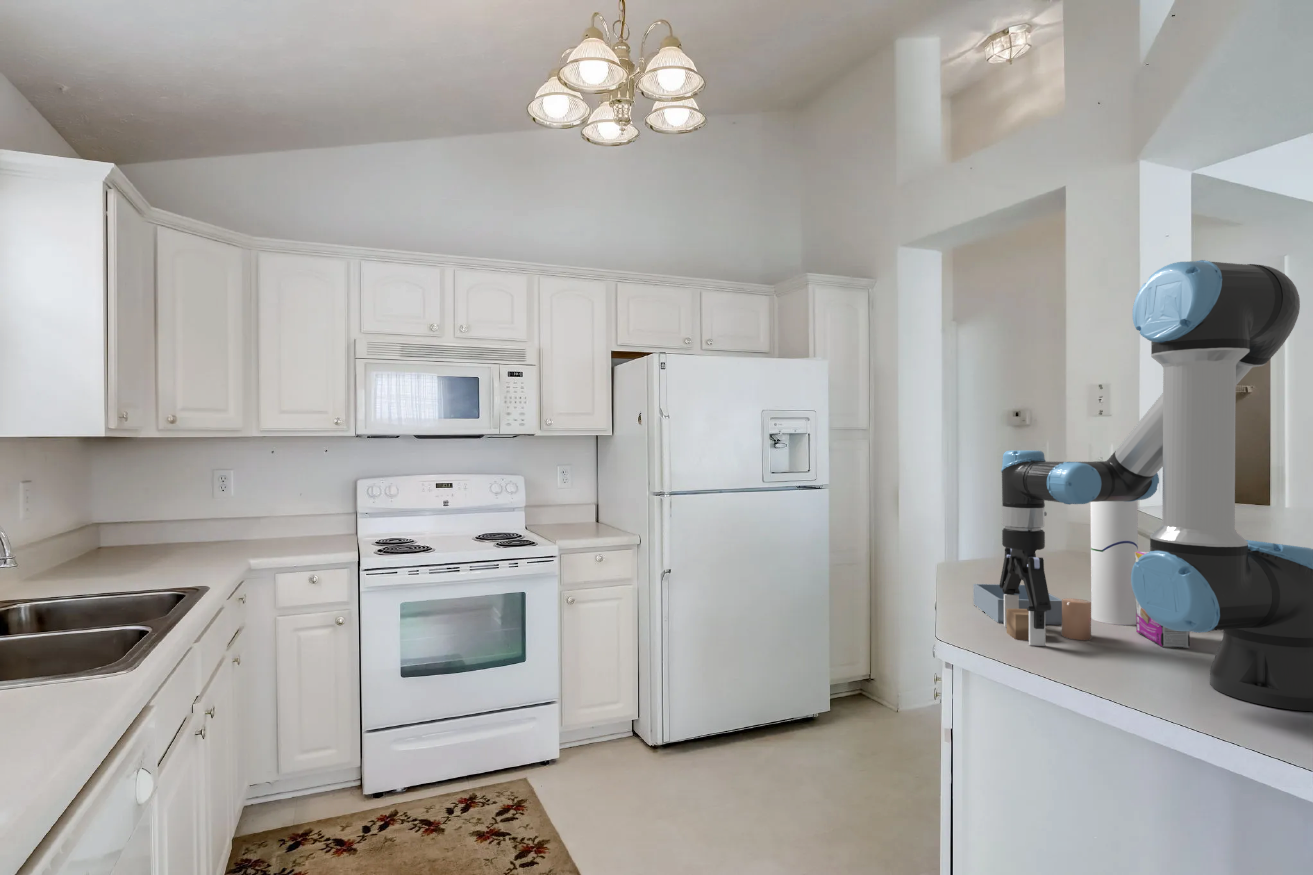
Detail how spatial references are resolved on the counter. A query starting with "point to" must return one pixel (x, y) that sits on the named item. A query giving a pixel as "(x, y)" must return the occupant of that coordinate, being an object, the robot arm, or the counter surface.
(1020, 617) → the walnut cube
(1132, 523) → the container
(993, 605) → the tote
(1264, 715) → the counter surface
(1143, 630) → the candy bar box
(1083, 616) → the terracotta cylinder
